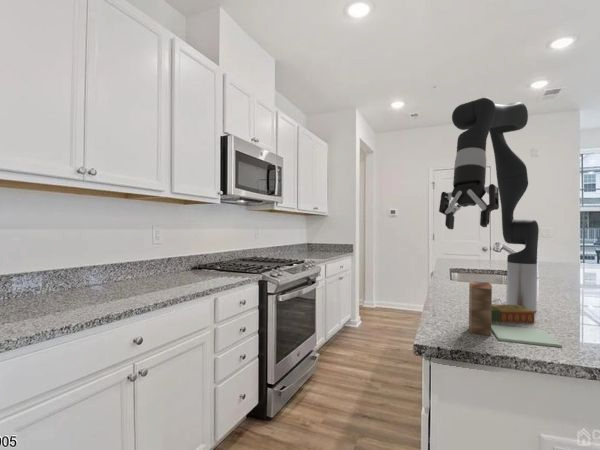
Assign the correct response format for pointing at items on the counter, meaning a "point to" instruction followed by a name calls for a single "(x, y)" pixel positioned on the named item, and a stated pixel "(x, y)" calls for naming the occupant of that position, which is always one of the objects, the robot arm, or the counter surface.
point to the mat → (524, 335)
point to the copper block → (480, 307)
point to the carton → (512, 313)
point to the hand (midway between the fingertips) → (466, 227)
